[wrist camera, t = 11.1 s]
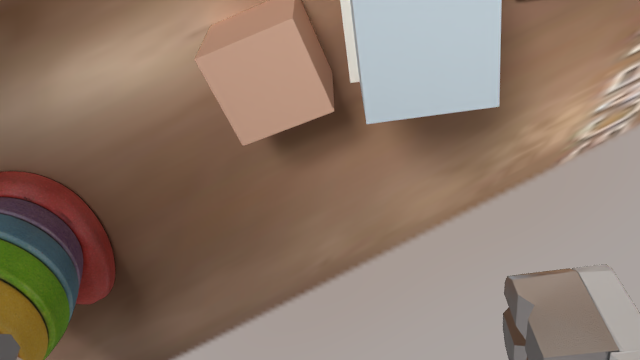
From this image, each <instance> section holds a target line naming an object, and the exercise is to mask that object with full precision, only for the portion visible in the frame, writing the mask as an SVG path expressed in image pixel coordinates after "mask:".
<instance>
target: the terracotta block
mask: <svg viewBox="0 0 640 360" xmlns="http://www.w3.org/2000/svg"><path fill="white" fill-rule="evenodd" d="M194 60H195V62H196V64H197V65H198V67H199V69H200V71H201V72H202V74H203V76H204V78H205V80H206V81H207V83H208V85H209V87H210V88H211V90H212V92H213V94H214V96H215V97H216V99H217V101H218V103H219V104H220V106H221V108H222V110H223V112H224V113H225V115H226V117H227V119H228V120H229V122H230V124H231V126H232V128H233V129H234V131H235V133H236V135H237V136H238V138H239V140H240V142H241V144H242V145H243V146H244V145H247V144H250V143H252V142H255V141H258V140H260V139H263V138H266V137H268V136H271V135H274V134H276V133H279V132H281V131H284V130H287V129H289V128H292V127H295V126H297V125H300V124H303V123H305V122H308V121H310V120H313V119H316V118H318V117H321V116H324V115H326V114H329V113H332V112H334V95H333V76H332V71H331V68H330V66H329V64H328V61H327V59H326V57H325V55H324V52H323V50H322V48H321V45H320V43H319V41H318V38H317V36H316V34H315V32H314V29H313V27H312V25H311V22H310V20H309V18H308V15H307V13H306V11H305V8H304V6H303V4H302V2H301V0H269V1H266V2H264V3H262V4H259V5H257V6H255V7H252V8H250V9H248V10H245V11H243V12H241V13H239V14H236V15H234V16H232V17H229V18H227V19H225V20H222V21H220V22H218V23H215V24H213V25H211V26H210V28H209V30H208V32H207V34H206V36H205V38H204V40H203V42H202V44H201V46H200V48H199V51H198V53H197V55H196V57H195V59H194Z"/></svg>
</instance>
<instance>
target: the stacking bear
mask: <svg viewBox="0 0 640 360" xmlns="http://www.w3.org/2000/svg"><path fill="white" fill-rule="evenodd" d="M114 281H115V262H114V255H113V251H112V248H111V245H110V242H109V239H108V237H107V235H106V232H105V231H104V229H103V227H102V225H101V223H100V222H99V220H98V219H97V217H96V216H95V215H94V213H93V212H92V211H91V209H90V208H89V207H88V206H87V205H86V204H85V203H84V202H83V200H82V199H81V198H80V197H78V196H77V195H76V194H75V193H74V192H72V191H71V190H69V189H68V188H66V187H65V186H63V185H62V184H60V183H58V182H56V181H53V180H51V179H49V178H46V177H44V176H40V175H37V174H32V173H27V172H17V171H7V172H0V334H11V335H12V336H13V338H14V339H15V341H16V342H17V343H18V345H19V346H20V350H19V354H18V357H19V358H21V359H23V360H44V359H45V358H46V357H47V356H48V355H49V354H50V353H51V351H52V350H53V349H54V347H55V346H56V345H57V343H58V342H59V340H60V339H61V337H62V336H63V334H64V332H65V331H66V329H67V326H68V323H69V321H70V319H71V316H72V313H73V310H74V307H75V304H93V303H95V302H97V301H98V300H100V299H102V298H104V297H105V296H107V295H108V293H109V292H110V291H111V289H112V287H113V285H114Z"/></svg>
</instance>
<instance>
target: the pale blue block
mask: <svg viewBox="0 0 640 360" xmlns="http://www.w3.org/2000/svg"><path fill="white" fill-rule="evenodd" d="M350 5H351V14H352V22H353V31H354V40H355V48H356V57H357V65H358V74H359V80H360V86H361V92H362V99H363V105H364V111H365V117H366V124H371V123H379V122H387V121H394V120H402V119H409V118H417V117H424V116H432V115H439V114H447V113H454V112H462V111H470V110H477V109H485V108H492V107H499V96H500V48H501V0H350Z"/></svg>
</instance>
